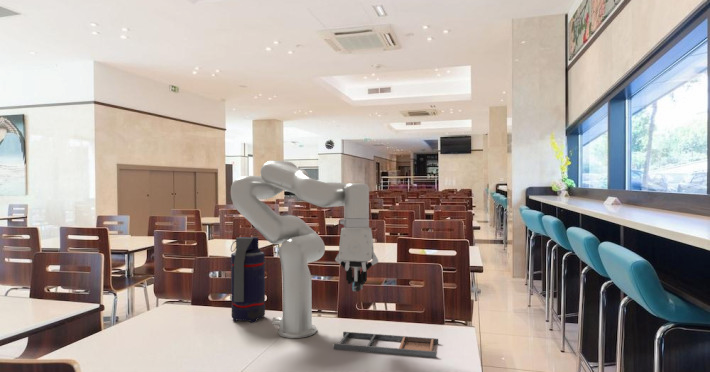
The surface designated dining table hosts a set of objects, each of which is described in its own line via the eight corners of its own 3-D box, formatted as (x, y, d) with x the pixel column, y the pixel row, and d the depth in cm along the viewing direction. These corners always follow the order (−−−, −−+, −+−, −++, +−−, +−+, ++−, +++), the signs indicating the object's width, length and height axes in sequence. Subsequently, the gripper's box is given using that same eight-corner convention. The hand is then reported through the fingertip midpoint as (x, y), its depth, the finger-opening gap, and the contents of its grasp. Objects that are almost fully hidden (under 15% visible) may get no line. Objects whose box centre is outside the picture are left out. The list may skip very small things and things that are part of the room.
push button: (362, 293, 130) (362, 259, 130) (345, 292, 131) (345, 259, 131) (367, 288, 136) (367, 256, 136) (351, 287, 137) (351, 255, 137)
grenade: (240, 313, 167) (240, 234, 167) (270, 314, 164) (269, 235, 164) (222, 324, 153) (222, 239, 153) (254, 326, 151) (253, 239, 151)
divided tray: (333, 348, 129) (333, 343, 129) (343, 336, 140) (343, 331, 140) (436, 357, 122) (436, 352, 122) (438, 343, 133) (438, 338, 133)
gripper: (327, 224, 132) (327, 284, 132) (381, 225, 128) (380, 288, 128) (334, 222, 139) (334, 279, 139) (385, 223, 135) (385, 282, 135)
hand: (356, 282), depth 133 cm, fingers closed on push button, 3 cm apart
